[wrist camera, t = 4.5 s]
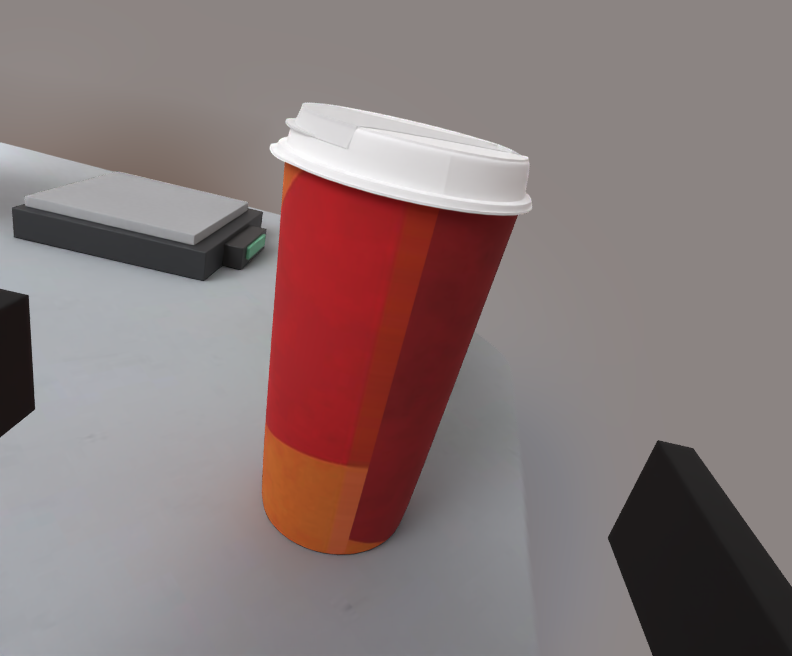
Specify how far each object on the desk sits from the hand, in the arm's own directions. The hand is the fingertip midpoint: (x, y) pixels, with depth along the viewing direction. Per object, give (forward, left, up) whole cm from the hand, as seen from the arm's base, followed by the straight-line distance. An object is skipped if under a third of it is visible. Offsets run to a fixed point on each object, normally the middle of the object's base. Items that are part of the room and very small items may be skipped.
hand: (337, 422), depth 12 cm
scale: (+20, -34, -10) cm, 41 cm away
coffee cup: (0, -8, -10) cm, 13 cm away
